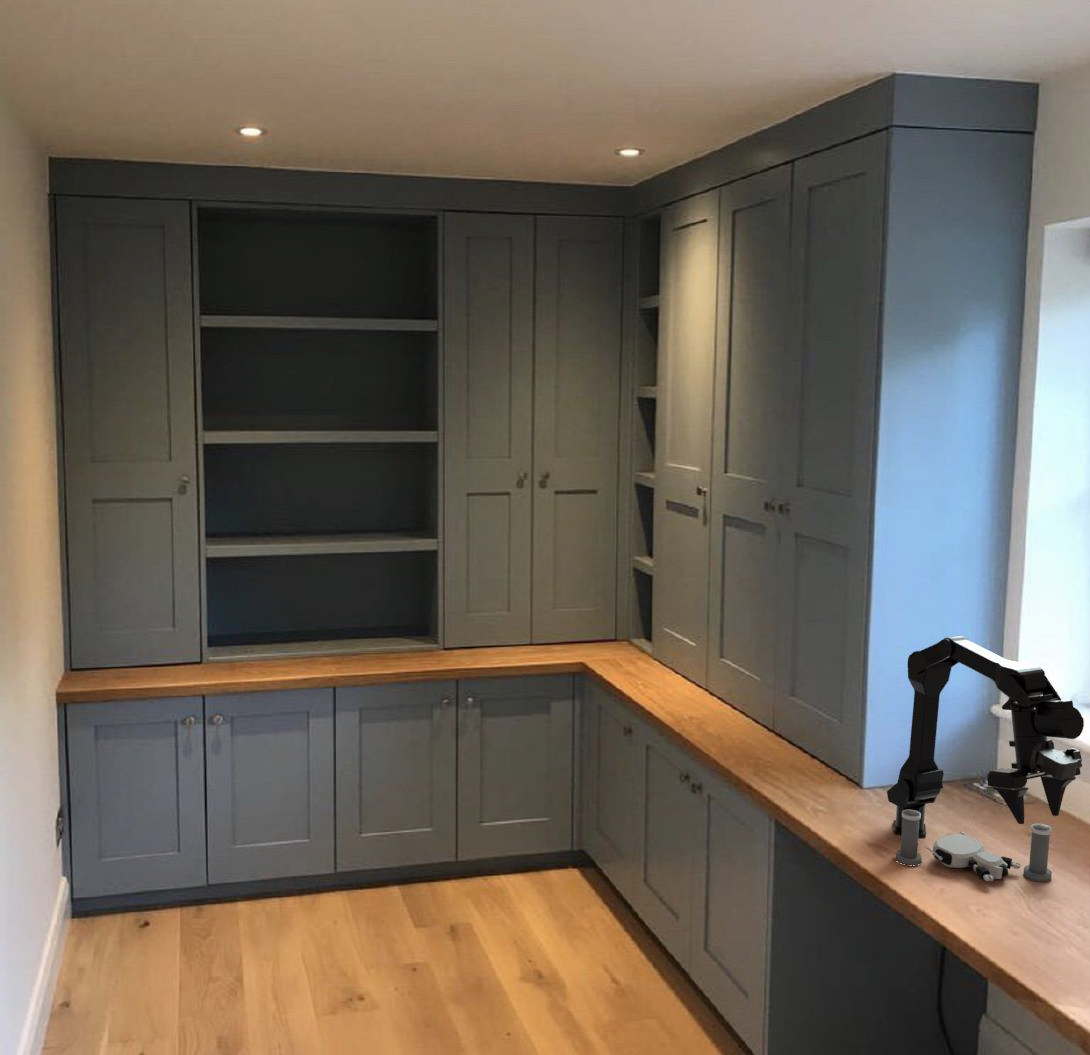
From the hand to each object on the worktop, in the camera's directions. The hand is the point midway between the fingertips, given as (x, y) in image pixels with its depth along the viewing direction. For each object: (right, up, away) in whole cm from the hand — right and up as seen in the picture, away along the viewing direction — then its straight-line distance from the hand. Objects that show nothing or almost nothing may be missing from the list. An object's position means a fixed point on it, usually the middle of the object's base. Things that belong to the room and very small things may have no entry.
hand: (1038, 819), depth 228 cm
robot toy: (-7, -13, +14) cm, 21 cm away
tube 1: (-19, -12, +17) cm, 29 cm away
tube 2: (+4, -14, +11) cm, 18 cm away
